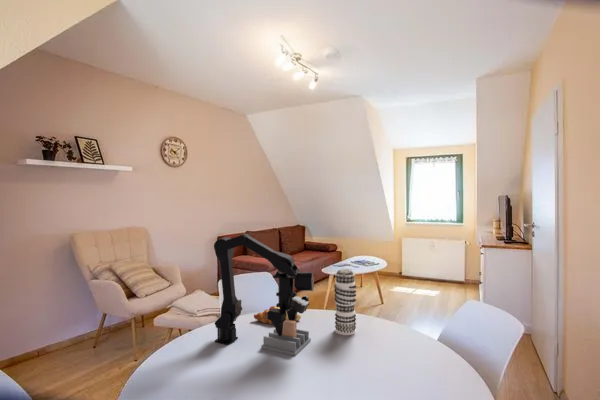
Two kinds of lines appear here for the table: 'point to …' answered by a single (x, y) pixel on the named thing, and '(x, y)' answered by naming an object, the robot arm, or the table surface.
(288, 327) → the terracotta plate
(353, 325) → the black-white patterned cylinder
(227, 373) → the table surface
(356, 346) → the table surface
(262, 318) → the croissant
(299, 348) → the dish rack
